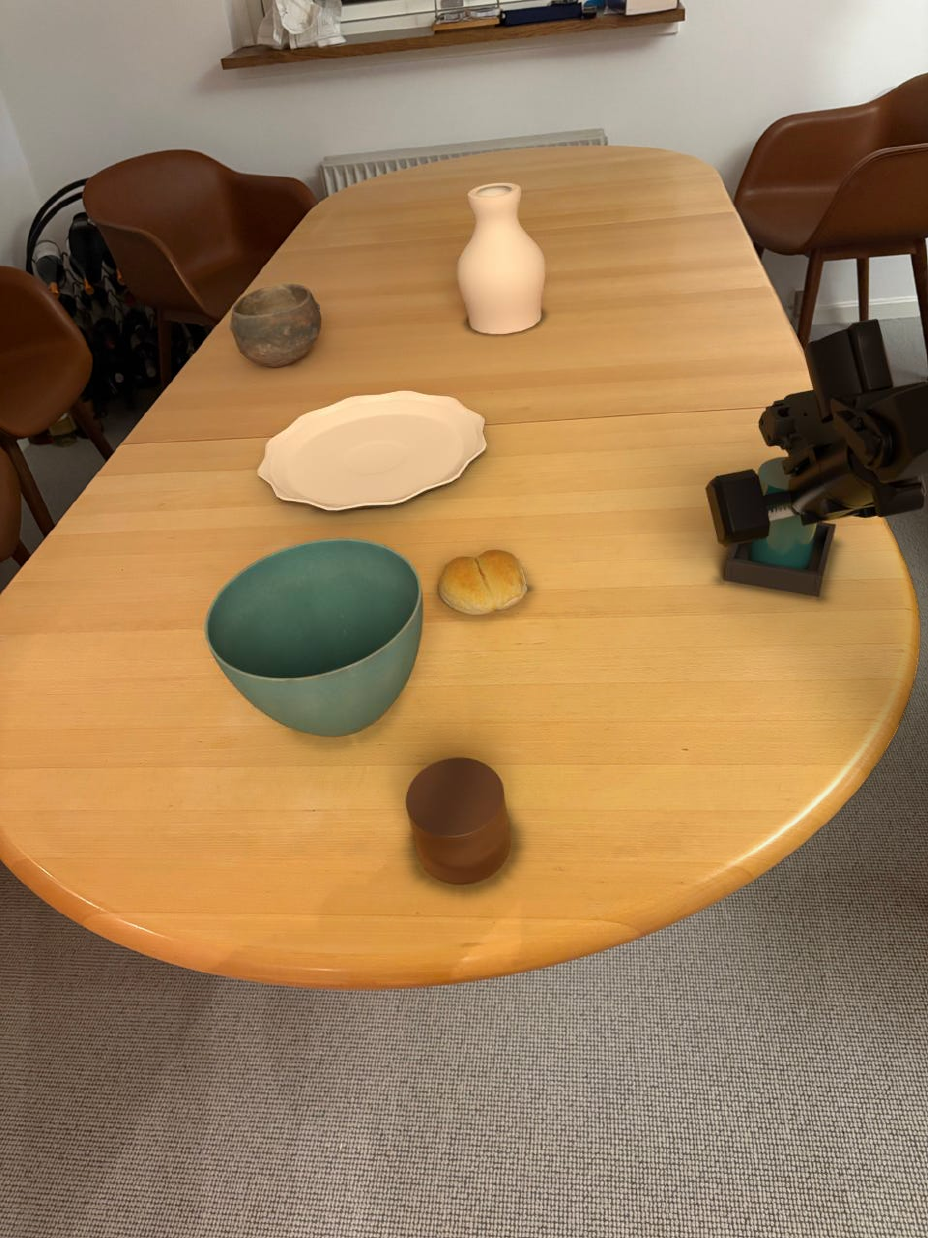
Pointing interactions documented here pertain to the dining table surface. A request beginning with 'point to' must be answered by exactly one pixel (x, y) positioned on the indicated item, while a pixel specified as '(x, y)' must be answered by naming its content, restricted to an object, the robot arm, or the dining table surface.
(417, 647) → the teal bowl
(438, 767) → the stand
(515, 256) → the vase
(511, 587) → the bread roll
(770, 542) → the teal cylinder
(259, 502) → the dining table surface
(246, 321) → the bowl
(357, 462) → the plate
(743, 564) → the dark square tray
